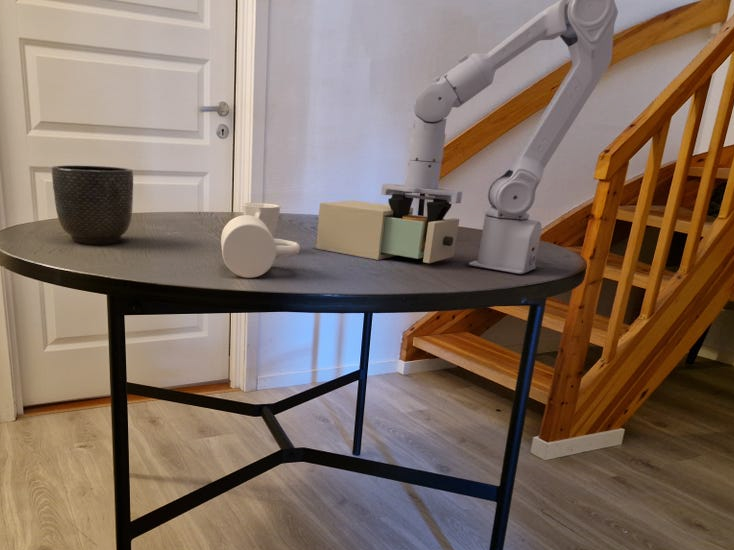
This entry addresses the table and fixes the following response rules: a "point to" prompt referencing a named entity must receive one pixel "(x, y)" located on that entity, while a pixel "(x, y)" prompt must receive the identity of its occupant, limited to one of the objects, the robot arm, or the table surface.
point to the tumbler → (418, 218)
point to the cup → (263, 214)
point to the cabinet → (353, 228)
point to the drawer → (420, 238)
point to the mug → (252, 246)
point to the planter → (93, 202)
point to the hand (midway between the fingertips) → (413, 240)
